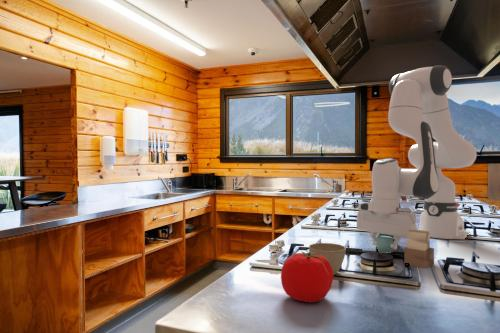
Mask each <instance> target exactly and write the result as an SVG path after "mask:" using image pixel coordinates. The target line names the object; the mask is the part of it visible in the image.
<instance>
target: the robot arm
mask: <svg viewBox="0 0 500 333" xmlns="http://www.w3.org/2000/svg"><path fill="white" fill-rule="evenodd" d="M452 80H453V76H452V72H451V70H450V68H448V67H447V66H445V65H439V64H438V65H434V66H425V67H420V68H419V67H418V68H416V69H412V70H409V71H406V72H401V73H398V74H395V75H394V76H392V78H391V79H390V81H389V83H388V91H389V94H390V101H389V106H388V117H387V118H388V121H387V122H388V125H389V127H390V128H391V129H392V130H393V131H394V132H395V133H397V134H399V135H401V136H404V137H407V138H410V139H413V140H414V141H415V144H412V146H410V148H409V150H408V154H407V158H408V161H409V163H410V164H411V166H413V167H415V168H403V167H400V166H399V162H398V159H395V158H380V159H378V160H376V161H374V163H373V166H372V171H371V172H372V173H371V188H372V193H371V200H370V201H366V202H361V203H359V204H358V205H357V207H358V211H357V214H356V228H357V229H358V230H359V231H365V232H369V236H370V237H371V240H372V245H373V246H376V247H377V235H378V234H379V233H380V234H386V235H391V236H393V239H395V241H394V242H393V243H391V244H390V246H391V247H390V248H391V249H393V250H394V251H395V250H397V249H398V245H399V243H400V241H401V238H403V239H407V231H409V230H411V229H416V230H424V231H430V238H435V239H442V240H443V239H445V240H466V239H467V238H466V236H467V235H468V234H469V233H470V234H471V232H470V231H469V230H465V221H464V219H463V218H462V216H461V215H460V214H459V213H458V208H459V207H460V202H457V201H456V184H455V182H454V181H453V180H452V179H450V178H449V177H447V176H445V175H444V173H442V169H462V168H468V167H471V166H472V165H473V164H474V163H475V161H476V160H477V149H476V148H475V146H474V145H473V143H471V142H470V141H468V140H466V139H464V138H463V137H462V136H461V135H460V134H459V133H458V132H457V130H456V129H455V126H454V125H453V121H452V117H451V112H450V106H449V105H450V104H449V100H448V96H447V92H448V91H449V89H450V88H451V87H452V82H453V81H452ZM434 140H435V141H434ZM400 196H401V197H413V198H418V199H422V200H423V199H424V201H423V212H421V213H420V217H419V218H420V219H419V220H420V221H419V228H417V225H416V220H417V218H416V217H417V215H416V213H415V212H414V211H413V210H412V209H410V208H404V207H403V208H401V207H400ZM465 238H466V239H465ZM397 244H398V245H397Z"/></svg>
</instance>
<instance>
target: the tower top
mask: <svg viewBox="0 0 500 333" xmlns="http://www.w3.org/2000/svg"><path fill="white" fill-rule="evenodd" d="M430 240H431V237H430V231H424V230H417V228H416V229H411V230H409V231H407V238H406V247H407V248H409V249H416V250H422V251H426V250H427V249H429V248H431V246H430V245H431V244H430V243H431V242H430Z"/></svg>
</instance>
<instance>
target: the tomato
mask: <svg viewBox="0 0 500 333" xmlns="http://www.w3.org/2000/svg"><path fill="white" fill-rule="evenodd" d="M280 273H281V274H280V281H281V285H282V289H283V290H284V292H285V294H286V295H287V296H288V297H290V298H291V299H294V300H296V301H300V302H305V303H316V302H320V301H322V300H323V299H324V298H326V296H327V295H328V294H329V292H330V290H331V289H332V285H333V283H334V275H333V269H332V267H331V265H330V263H329V262H328V260H327V259H326V258H325V257H323V256H320V255H317V254H311V253H310V252H304V251H302V250H300V252H298V253H293V255H291V256H290V257H288V258H287V259H286V260H285V261H284V262H283V265H282V267H281V272H280Z"/></svg>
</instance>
